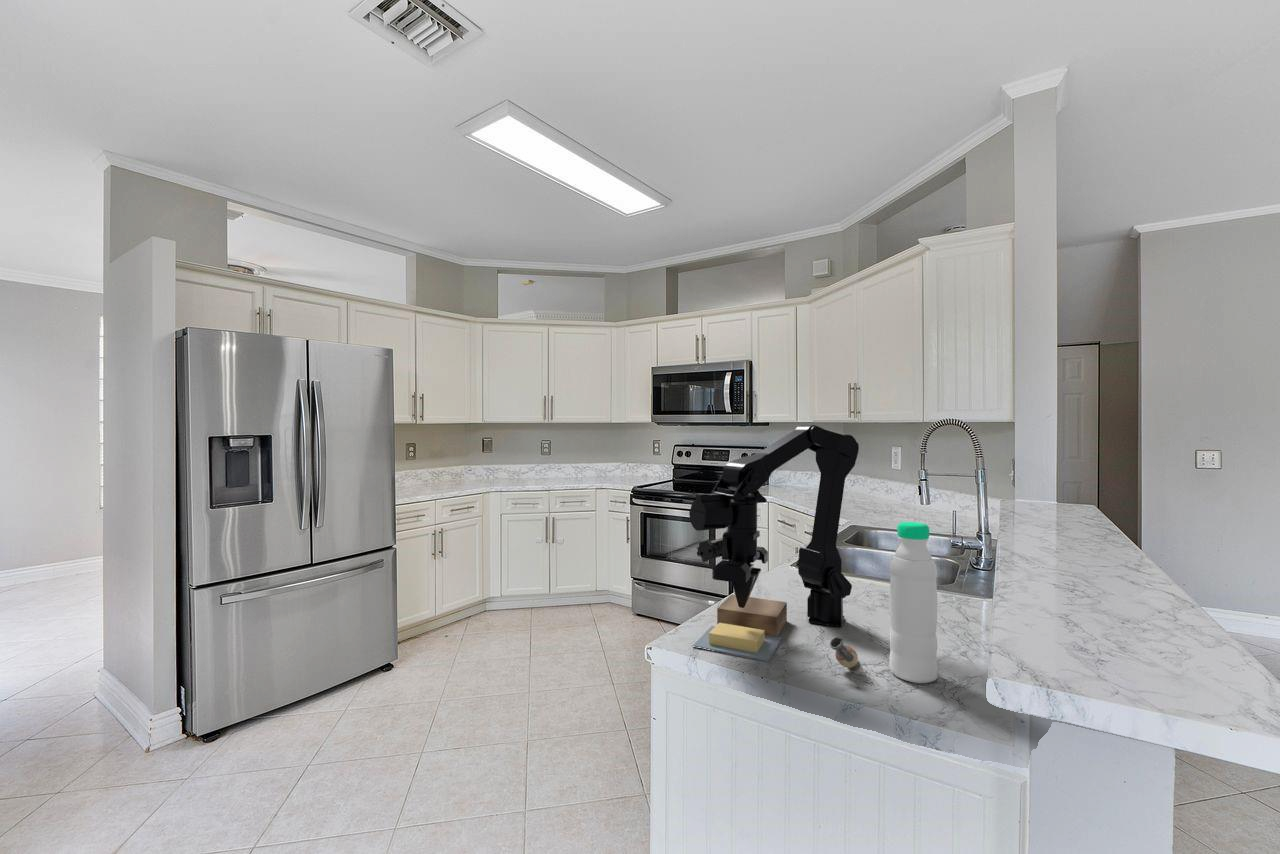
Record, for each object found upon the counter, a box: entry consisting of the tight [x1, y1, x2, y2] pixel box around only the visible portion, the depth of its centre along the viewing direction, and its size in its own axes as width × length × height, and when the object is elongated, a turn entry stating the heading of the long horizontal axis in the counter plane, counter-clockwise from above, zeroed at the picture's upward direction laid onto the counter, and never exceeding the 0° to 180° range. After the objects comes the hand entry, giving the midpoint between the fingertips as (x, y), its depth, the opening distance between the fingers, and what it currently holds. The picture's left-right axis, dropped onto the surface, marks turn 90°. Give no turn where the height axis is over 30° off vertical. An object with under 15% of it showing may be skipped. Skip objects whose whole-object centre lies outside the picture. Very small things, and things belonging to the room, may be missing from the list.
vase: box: [829, 637, 871, 679], centre depth 90 cm, size 5×5×6 cm
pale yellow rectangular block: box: [709, 623, 765, 653], centre depth 102 cm, size 9×6×2 cm, turn 64°
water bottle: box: [889, 521, 938, 684], centre depth 89 cm, size 7×7×25 cm
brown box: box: [716, 594, 788, 637], centre depth 112 cm, size 12×10×4 cm
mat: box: [692, 625, 782, 663], centre depth 102 cm, size 14×11×1 cm
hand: (741, 607), depth 105 cm, fingers closed
